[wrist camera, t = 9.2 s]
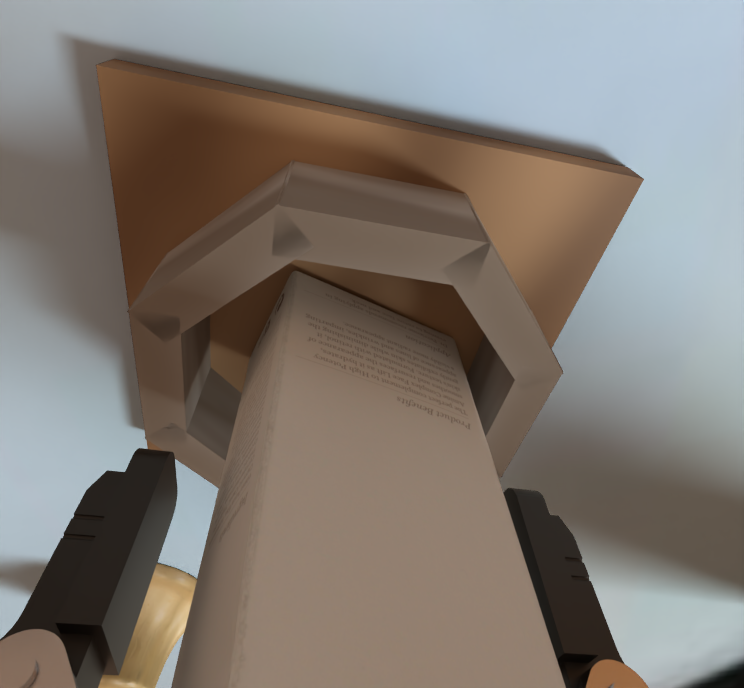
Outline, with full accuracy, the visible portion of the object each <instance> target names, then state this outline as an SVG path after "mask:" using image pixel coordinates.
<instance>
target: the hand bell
mask: <svg viewBox="0 0 744 688" xmlns="http://www.w3.org/2000/svg"><path fill="white" fill-rule="evenodd" d="M196 582H197V579H196V578H195V577H193V576H191V575H189V574H188V573H186V572H183V571H181V570H178V569H177V568H173V567H170V566H166V565H163V564H158V563H157V565H156V568H155V571H154V573H153V576H152V579H151V582H150V585H149V588H148V591H147V594H146V597H145V600H144V603H143V606H142V609H141V612H140V615H139V618H138V621H137V624H136V627H135V629H134V632H133V635H132V638H131V641H130V644H129V647H128V650H127V653H126V656H125V659H124V662H123V665H122V668H121V671H120V674H119V676H118V675H102V678H101V681H100V684H99V686H98V688H155V686H156V684H157V681H158V679H159V676H160V674H161V671H162V669H163V667H164V664H165V662H166V660H167V658H168V656H169V654H170V653H171V651H172V649H173V647H174V645H175V644H176V642H177V641H178V640H179V638H180V637H181V636H182V634H183V633H184V632H185V628H186V623H187V619H188V615H189V611H190V607H191V603H192V599H193V594H194V590H195V586H196Z"/></svg>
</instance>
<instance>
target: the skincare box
mask: <svg viewBox="0 0 744 688" xmlns="http://www.w3.org/2000/svg"><path fill="white" fill-rule="evenodd" d="M171 688H566V686H565V683H564V680H563V677H562V674H561V671H560V668H559V664H558V661H557V658H556V655H555V652H554V649H553V646H552V643H551V640H550V637H549V634H548V631H547V628H546V624H545V621H544V618H543V615H542V612H541V609H540V606H539V603H538V599H537V596H536V593H535V590H534V587H533V584H532V581H531V578H530V574H529V571H528V568H527V565H526V562H525V559H524V556H523V553H522V549H521V546H520V543H519V540H518V537H517V534H516V531H515V528H514V524H513V521H512V518H511V515H510V512H509V509H508V506H507V503H506V500H505V496H504V493H503V490H502V487H501V484H500V481H499V478H498V475H497V471H496V468H495V465H494V462H493V459H492V455H491V452H490V449H489V446H488V443H487V440H486V437H485V434H484V431H483V428H482V425H481V421H480V418H479V415H478V412H477V409H476V406H475V403H474V400H473V397H472V394H471V390H470V387H469V384H468V381H467V378H466V374H465V371H464V368H463V365H462V362H461V358H460V355H459V352H458V349H457V346H456V343H455V340H454V339H453V338H451V337H450V336H447V335H445V334H443V333H440V332H438V331H436V330H433V329H431V328H428V327H426V326H424V325H421V324H419V323H417V322H415V321H412V320H410V319H408V318H405V317H403V316H401V315H398V314H396V313H394V312H391V311H389V310H387V309H385V308H382V307H380V306H378V305H375V304H373V303H371V302H368V301H366V300H364V299H361V298H359V297H357V296H355V295H352V294H350V293H348V292H345V291H343V290H341V289H338V288H336V287H334V286H331V285H329V284H327V283H324V282H322V281H320V280H317V279H315V278H313V277H310V276H308V275H306V274H303V273H301V272H299V271H293V272H292V273H291V275H290V276H289V278H288V280H287V283H286V285H285V287H284V289H283V291H282V293H281V295H280V297H279V299H278V300H277V302H276V304H275V306H274V308H273V311H272V313H271V315H270V317H269V319H268V321H267V323H266V325H265V327H264V329H263V331H262V333H261V335H260V337H259V339H258V342H257V344H256V346H255V348H254V350H253V352H252V355H251V357H250V359H249V364H248V368H247V374H246V379H245V383H244V387H243V391H242V396H241V400H240V404H239V407H238V412H237V416H236V420H235V424H234V428H233V433H232V437H231V441H230V445H229V449H228V453H227V457H226V461H225V466H224V469H223V473H222V477H221V481H220V486H219V490H218V494H217V499H216V503H215V507H214V511H213V515H212V520H211V524H210V528H209V532H208V536H207V540H206V545H205V549H204V553H203V557H202V561H201V565H200V569H199V574H198V578H197V582H196V586H195V590H194V594H193V599H192V603H191V607H190V611H189V615H188V619H187V623H186V628H185V632H184V636H183V640H182V644H181V648H180V652H179V656H178V661H177V665H176V669H175V674H174V678H173V682H172V687H171Z"/></svg>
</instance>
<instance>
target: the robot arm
mask: <svg viewBox="0 0 744 688" xmlns="http://www.w3.org/2000/svg"><path fill="white" fill-rule="evenodd" d="M504 496H505V500H506V503H507V506H508V509H509V512H510V515H511V518H512V521H513V524H514V528H515V531H516V534H517V537H518V540H519V543H520V546H521V549H522V553H523V556H524V559H525V562H526V565H527V568H528V571H529V574H530V578H531V581H532V584H533V587H534V590H535V593H536V596H537V599H538V603H539V606H540V609H541V612H542V615H543V618H544V621H545V624H546V628H547V631H548V634H549V637H550V640H551V643H552V646H553V649H554V652H555V655H556V658H557V661H558V664H559V668H560V671H561V674H562V677H563V680H564V683H565V686H566V688H648V686H647V685H646V683H645V682H644V681H643V679H642V678H641V677H640V676H639V675H638V674H637V673H636V672H635V671H633V670H632V669H631V668H629V667H628V666H626V665H625V664H624V662H623V660H622V659H621V657H620V655H619V653H618V651H617V648H616V646H615V643H614V640H613V638H612V635H611V633H610V630H609V627H608V625H607V622H606V620H605V617H604V614H603V612H602V609H601V606H600V604H599V601H598V599H597V596H596V593H595V591H594V588H593V585H592V583H591V581H589V575H588V572H587V570H586V567H585V565H584V563H582V557H581V554H580V551H579V549H578V546H577V544H576V541H575V538H574V536H573V535H572V533H571V532H570V531H569V529H568V528H567V527H566V525H565V524H564V523H563V521H562V520H561V519H560V517H559V516H554V515H550V514H549V512H548V509H547V506H546V503H545V500H544V498H543V496H542V495H541V493H539V492H538V491H531V490H522V489H512V488H508V489H507V490H506V491H505V492H504ZM176 500H177V480H176V468H175V456H174V453H173V452H170V451H161V450H151V449H142V448H139V449H137V450H136V451H135V453H134V455H133V456H132V459H131V461H130V463H129V465H128V467H127V469H126V471H125V472H117V471H106V472H105V473H104V474H103V475H102V476H101V477H100V478H99V479H98V480H97V481H96V482H95V483H94V484H92V485H91V486H90V487H89V488H88V489H87V490H86V492H85V494H84V496H83V498H82V500H81V502H80V504H79V505H78V507H77V509H76V511H75V513H74V517H73V519H71V521H70V523H69V525H68V526H67V528H66V530H65V532H64V536H63V538H61V540H60V542H59V544H58V546H57V548H56V549H55V551H54V553H53V555H52V557H51V559H50V561H49V563H48V565H47V567H46V569H45V570H44V572H43V574H42V576H41V578H40V580H39V582H38V584H37V586H36V588H35V590H34V592H33V593H32V595H31V597H30V599H29V601H28V603H27V605H26V607H25V609H24V611H23V612H22V614H21V616H20V617H19V619H18V621H17V622H16V623H15V625H14V626H13V627H12V628H11V629H10V630H9V632H8V633H7V634H6V635H5V636H4V637H2V638H1V639H0V688H98V686H99V684H100V681H101V678H102V675H118V676H119V674H120V671H121V668H122V665H123V662H124V659H125V656H126V653H127V650H128V647H129V644H130V641H131V638H132V635H133V632H134V629H135V627H136V624H137V621H138V618H139V615H140V612H141V609H142V606H143V603H144V600H145V597H146V594H147V591H148V588H149V585H150V582H151V579H152V576H153V573H154V571H155V568H156V565H157V562H158V559H159V556H160V553H161V550H162V547H163V544H164V541H165V538H166V535H167V532H168V529H169V526H170V523H171V520H172V517H173V514H174V510H175V506H176Z"/></svg>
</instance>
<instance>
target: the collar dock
mask: <svg viewBox="0 0 744 688" xmlns="http://www.w3.org/2000/svg"><path fill="white" fill-rule="evenodd" d="M96 67H97V75H98V82H99V90H100V97H101V104H102V112H103V119H104V127H105V134H106V142H107V149H108V156H109V164H110V171H111V179H112V186H113V194H114V201H115V208H116V216H117V223H118V231H119V238H120V246H121V253H122V261H123V268H124V275H125V283H126V290H127V298H128V305H129V310H128V311H127V312H128V313H129V318H130V326H131V333H132V340H133V348H134V355H135V362H136V370H137V377H138V384H139V392H140V399H141V407H142V414H143V421H144V429H145V439H146V440H147V446H148V449H151V450H161V451H170V452H173V453H174V456H175V459H176V460H178V461H179V462H181V463H182V464H184V465H185V466H187V467H188V468H190V469H191V470H193V471H194V472H196V473H197V474H199V475H200V476H202V477H203V478H204V479H206V480H207V481H209V482H210V483H212V484H213V485H215V486H216V487H218V488H219V486H220V481H221V477H222V473H223V469H224V466H225V461H226V457H227V453H228V449H229V445H230V441H231V437H232V433H233V428H234V424H235V420H236V416H237V412H238V407H239V404H240V400H241V396H242V391H243V387H244V383H245V379H246V374H247V368H248V364H249V359H250V357H251V355H252V352H253V350H254V348H255V346H256V344H257V342H258V339H259V337H260V335H261V333H262V331H263V329H264V327H265V325H266V323H267V321H268V319H269V317H270V315H271V313H272V311H273V308H274V306H275V304H276V302H277V300H278V299H279V297H280V295H281V293H282V291H283V289H284V287H285V285H286V283H287V280H288V278H289V276H290V275H291V273H292V272H293V271H299V272H301V273H303V274H306V275H308V276H310V277H313V278H315V279H317V280H320V281H322V282H324V283H327V284H329V285H331V286H334V287H336V288H338V289H341V290H343V291H345V292H348V293H350V294H352V295H355V296H357V297H359V298H361V299H364V300H366V301H368V302H371V303H373V304H375V305H378V306H380V307H382V308H385V309H387V310H389V311H391V312H394V313H396V314H398V315H401V316H403V317H405V318H408V319H410V320H412V321H415V322H417V323H419V324H421V325H424V326H426V327H428V328H431V329H433V330H436V331H438V332H440V333H443V334H445V335H447V336H450V337H451V338H453V339H454V340H455V343H456V346H457V349H458V352H459V355H460V358H461V362H462V365H463V368H464V371H465V374H466V378H467V381H468V384H469V387H470V390H471V394H472V397H473V400H474V403H475V406H476V409H477V412H478V415H479V418H480V421H481V425H482V428H483V431H484V434H485V437H486V440H487V443H488V446H489V449H490V452H491V455H492V459H493V462H494V465H495V468H496V471H497V475H498V478H501V477H502V475H503V473H504V471H505V470H506V468H507V466H508V465H509V463H510V461H511V460H512V458H513V456H514V454H515V453H516V451H517V449H518V448H519V446H520V444H521V443H522V441H523V439H524V437H525V436H526V434H527V432H528V431H529V429H530V427H531V426H532V424H533V422H534V420H535V419H536V417H537V415H538V414H539V412H540V410H541V409H542V407H543V405H544V403H545V402H546V400H547V398H548V397H549V395H550V393H551V392H552V390H553V388H554V386H555V385H556V383H557V381H558V380H559V378H560V376H561V375H562V374H563V370H562V368H561V367H560V365H559V363H558V361H557V359H556V357H555V355H554V353H553V351H552V349H551V348H552V346H553V345H554V343H555V341H556V339H557V337H558V336H559V334H560V332H561V330H562V328H563V326H564V325H565V323H566V321H567V319H568V317H569V315H570V314H571V312H572V310H573V308H574V306H575V304H576V303H577V301H578V299H579V297H580V295H581V293H582V292H583V290H584V288H585V286H586V284H587V282H588V281H589V279H590V277H591V275H592V273H593V271H594V270H595V268H596V266H597V264H598V262H599V261H600V259H601V257H602V255H603V253H604V251H605V250H606V248H607V246H608V244H609V242H610V240H611V239H612V237H613V235H614V233H615V231H616V229H617V228H618V226H619V224H620V222H621V220H622V218H623V217H624V215H625V213H626V211H627V209H628V207H629V206H630V204H631V202H632V200H633V198H634V196H635V195H636V193H637V191H638V189H639V187H640V185H641V184H642V182H643V180H644V179H643V178H642V177H640V176H639V175H638V174H636V173H635V172H634V171H632V170H631V169H629V168H628V167H624V166H620V165H615V164H610V163H605V162H601V161H596V160H591V159H586V158H582V157H577V156H572V155H567V154H563V153H558V152H553V151H549V150H544V149H539V148H534V147H530V146H525V145H520V144H515V143H511V142H506V141H501V140H496V139H492V138H487V137H482V136H477V135H473V134H468V133H463V132H458V131H454V130H449V129H444V128H439V127H435V126H430V125H425V124H420V123H416V122H411V121H406V120H401V119H397V118H392V117H387V116H382V115H378V114H373V113H368V112H363V111H359V110H354V109H349V108H345V107H340V106H335V105H330V104H326V103H321V102H316V101H311V100H307V99H302V98H297V97H292V96H288V95H283V94H278V93H273V92H269V91H264V90H259V89H254V88H250V87H245V86H240V85H235V84H231V83H226V82H221V81H216V80H212V79H207V78H202V77H197V76H193V75H188V74H183V73H178V72H174V71H169V70H164V69H159V68H155V67H150V66H145V65H140V64H136V63H131V62H126V61H122V60H117V59H112V60H109V61H106V62H104V63H101V64H98V65H96Z"/></svg>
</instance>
